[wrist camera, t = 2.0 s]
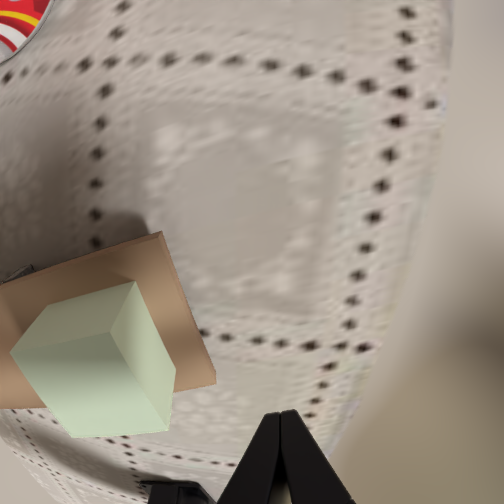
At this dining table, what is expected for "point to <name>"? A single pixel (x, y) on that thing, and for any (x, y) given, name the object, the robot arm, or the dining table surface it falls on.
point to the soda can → (20, 23)
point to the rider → (100, 364)
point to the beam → (95, 279)
